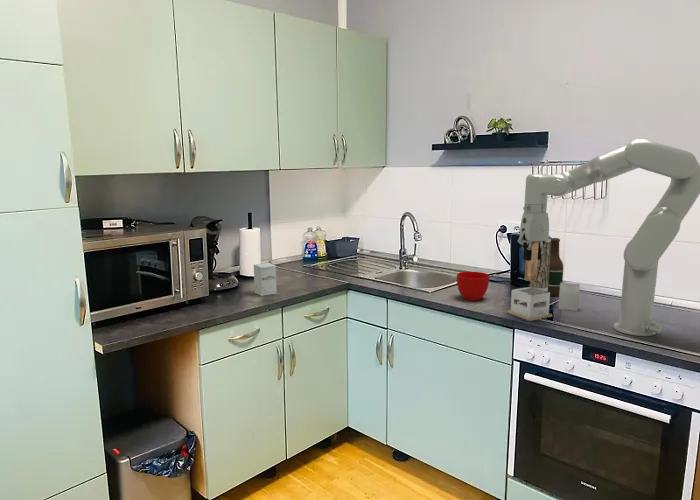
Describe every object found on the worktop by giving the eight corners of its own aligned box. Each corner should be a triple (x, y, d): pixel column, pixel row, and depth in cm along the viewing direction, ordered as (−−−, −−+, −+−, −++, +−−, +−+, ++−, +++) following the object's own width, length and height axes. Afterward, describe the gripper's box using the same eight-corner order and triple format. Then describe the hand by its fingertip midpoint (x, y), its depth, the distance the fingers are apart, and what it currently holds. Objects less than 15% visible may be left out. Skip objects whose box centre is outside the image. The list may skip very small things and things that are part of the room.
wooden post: (538, 280, 188) (542, 231, 185) (530, 281, 186) (533, 232, 183) (530, 278, 191) (533, 230, 188) (522, 279, 190) (525, 230, 186)
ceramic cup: (500, 297, 215) (501, 273, 214) (475, 304, 204) (476, 280, 203) (474, 291, 225) (474, 268, 223) (449, 298, 214) (450, 274, 212)
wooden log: (535, 303, 206) (539, 241, 202) (525, 298, 213) (529, 238, 208) (550, 301, 208) (554, 240, 204) (540, 297, 214) (543, 237, 210)
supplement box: (261, 296, 218) (260, 267, 216) (254, 292, 224) (253, 264, 222) (277, 294, 222) (276, 265, 220) (269, 290, 228) (268, 262, 226)
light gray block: (578, 311, 196) (580, 285, 194) (558, 309, 198) (560, 283, 196) (577, 308, 199) (579, 283, 197) (558, 306, 201) (560, 281, 199)
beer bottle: (565, 295, 218) (569, 238, 213) (553, 297, 214) (556, 240, 210) (550, 291, 224) (553, 236, 220) (537, 293, 220) (541, 237, 216)
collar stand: (551, 316, 188) (553, 292, 187) (529, 321, 184) (530, 296, 182) (529, 309, 198) (530, 286, 197) (507, 312, 193) (508, 289, 192)
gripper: (525, 211, 177) (522, 263, 180) (560, 209, 184) (556, 259, 188) (509, 209, 184) (506, 259, 187) (544, 207, 191) (540, 255, 194)
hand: (531, 259), depth 187 cm, fingers closed on wooden post, 4 cm apart
